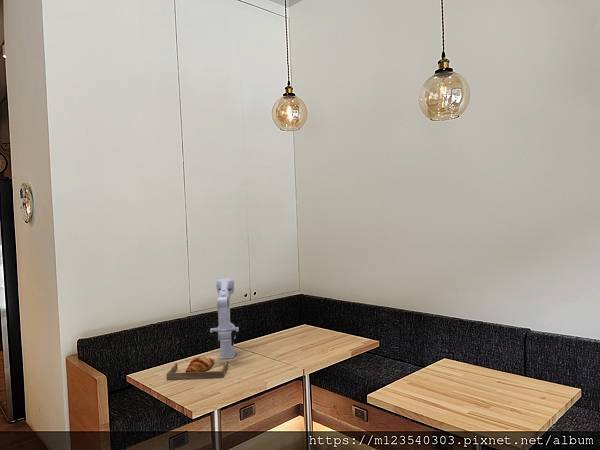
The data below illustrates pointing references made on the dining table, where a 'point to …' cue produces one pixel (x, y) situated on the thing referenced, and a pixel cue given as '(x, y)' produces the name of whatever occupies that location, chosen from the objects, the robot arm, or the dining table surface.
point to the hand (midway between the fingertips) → (225, 345)
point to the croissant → (200, 364)
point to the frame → (195, 374)
